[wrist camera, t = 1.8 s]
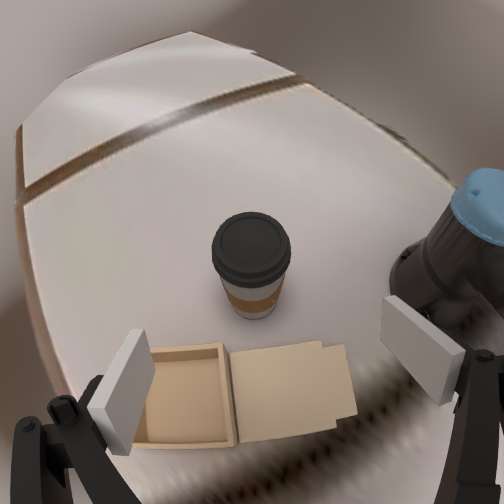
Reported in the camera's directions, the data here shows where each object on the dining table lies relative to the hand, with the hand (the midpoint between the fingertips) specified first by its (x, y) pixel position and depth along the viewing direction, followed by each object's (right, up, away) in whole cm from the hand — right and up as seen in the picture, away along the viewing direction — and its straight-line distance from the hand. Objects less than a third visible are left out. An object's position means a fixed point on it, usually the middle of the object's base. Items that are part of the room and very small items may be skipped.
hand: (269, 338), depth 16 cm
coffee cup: (-1, -2, +28) cm, 28 cm away
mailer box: (-2, -14, +21) cm, 25 cm away
